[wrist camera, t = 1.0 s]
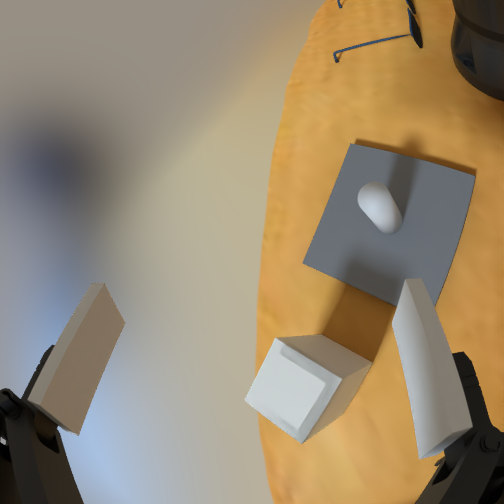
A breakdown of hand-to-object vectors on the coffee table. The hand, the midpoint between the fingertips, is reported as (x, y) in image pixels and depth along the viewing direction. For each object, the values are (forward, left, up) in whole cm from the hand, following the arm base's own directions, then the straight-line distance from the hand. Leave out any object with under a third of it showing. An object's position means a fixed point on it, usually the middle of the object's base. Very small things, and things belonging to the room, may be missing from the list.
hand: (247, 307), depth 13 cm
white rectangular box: (+8, -1, -23) cm, 24 cm away
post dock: (-10, -2, -23) cm, 25 cm away
